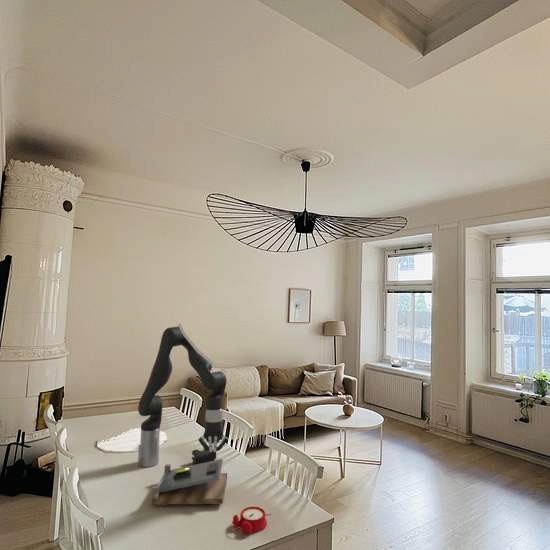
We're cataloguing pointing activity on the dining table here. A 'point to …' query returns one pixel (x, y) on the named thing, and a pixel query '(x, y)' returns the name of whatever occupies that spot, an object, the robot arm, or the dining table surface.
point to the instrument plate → (190, 475)
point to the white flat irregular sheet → (127, 441)
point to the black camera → (200, 456)
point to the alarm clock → (250, 520)
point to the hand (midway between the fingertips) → (212, 460)
